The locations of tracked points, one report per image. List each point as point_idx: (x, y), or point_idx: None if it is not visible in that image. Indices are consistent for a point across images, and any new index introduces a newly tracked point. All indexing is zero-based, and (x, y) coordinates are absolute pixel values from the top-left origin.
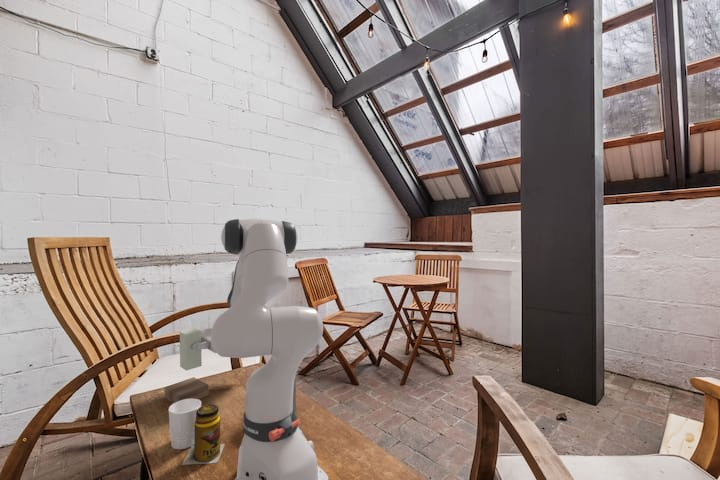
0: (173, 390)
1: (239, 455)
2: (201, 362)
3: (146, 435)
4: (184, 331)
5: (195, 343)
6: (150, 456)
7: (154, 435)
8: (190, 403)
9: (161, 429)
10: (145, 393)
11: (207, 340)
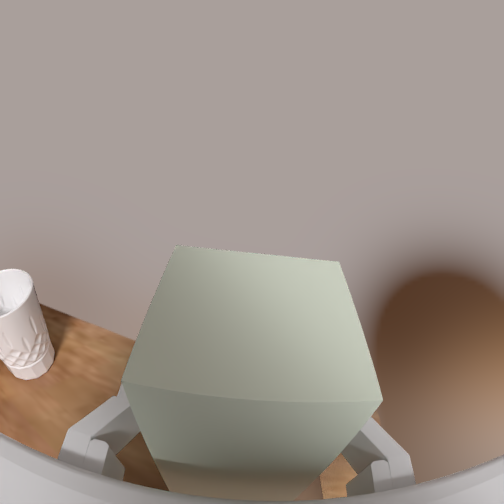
0: None
1: None
2: None
3: (127, 341)
4: (310, 280)
5: None
6: (60, 312)
7: (110, 348)
8: (8, 323)
9: (117, 366)
10: None
11: (71, 464)
